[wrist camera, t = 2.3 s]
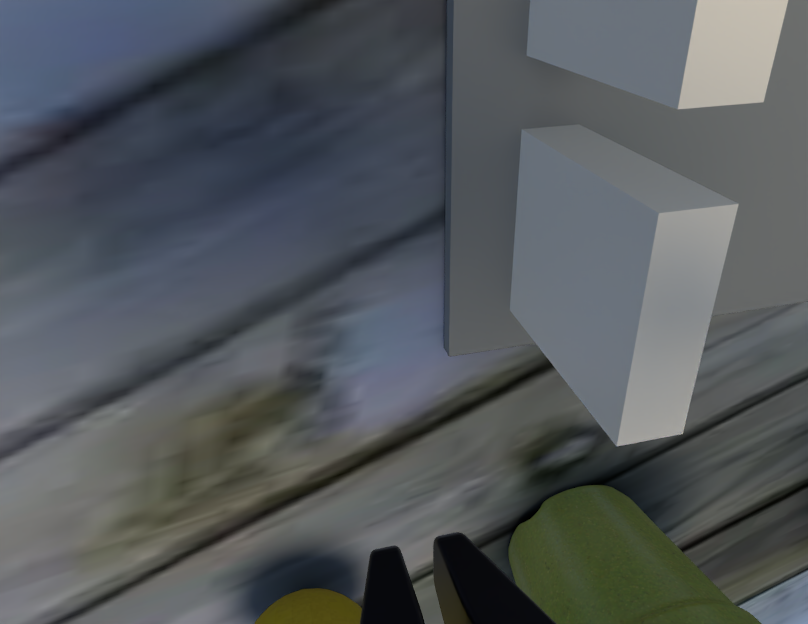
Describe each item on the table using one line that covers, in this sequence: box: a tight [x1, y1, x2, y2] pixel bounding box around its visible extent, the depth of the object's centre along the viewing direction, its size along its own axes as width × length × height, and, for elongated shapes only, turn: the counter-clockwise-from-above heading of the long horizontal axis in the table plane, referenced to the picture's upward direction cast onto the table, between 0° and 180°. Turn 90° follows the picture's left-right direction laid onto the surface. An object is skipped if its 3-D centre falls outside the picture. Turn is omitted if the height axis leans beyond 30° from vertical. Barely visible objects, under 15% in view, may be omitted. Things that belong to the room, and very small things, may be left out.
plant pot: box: [508, 485, 761, 624], centre depth 25 cm, size 9×9×9 cm
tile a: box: [510, 124, 739, 446], centre depth 17 cm, size 2×6×7 cm, turn 2°
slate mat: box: [444, 0, 808, 357], centre depth 19 cm, size 15×17×1 cm
